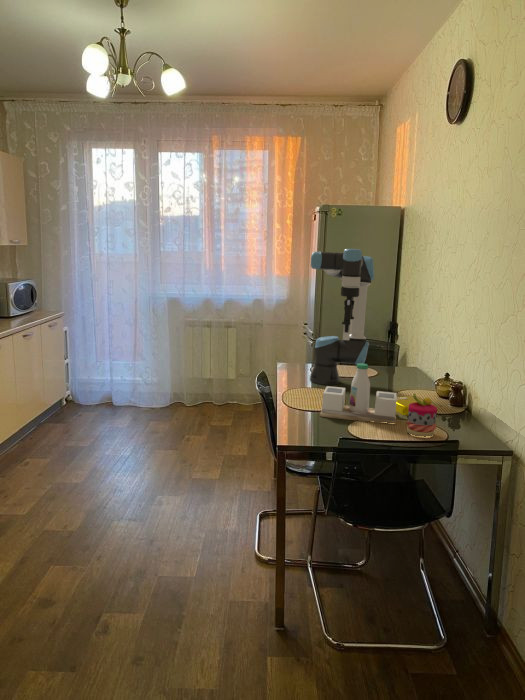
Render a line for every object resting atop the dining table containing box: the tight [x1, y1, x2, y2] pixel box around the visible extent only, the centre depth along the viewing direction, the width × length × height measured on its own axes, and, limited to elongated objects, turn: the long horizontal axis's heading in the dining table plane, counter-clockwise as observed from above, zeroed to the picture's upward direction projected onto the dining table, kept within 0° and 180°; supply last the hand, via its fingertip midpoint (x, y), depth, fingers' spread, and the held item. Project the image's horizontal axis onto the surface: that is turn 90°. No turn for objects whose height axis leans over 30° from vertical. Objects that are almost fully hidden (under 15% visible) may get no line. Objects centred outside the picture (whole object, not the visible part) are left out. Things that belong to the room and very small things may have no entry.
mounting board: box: [319, 404, 397, 424], centre depth 219 cm, size 15×30×3 cm, turn 76°
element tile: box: [396, 395, 434, 417], centre depth 230 cm, size 15×15×5 cm
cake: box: [405, 393, 438, 437], centre depth 198 cm, size 10×11×15 cm
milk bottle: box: [349, 362, 371, 413], centre depth 217 cm, size 8×8×20 cm
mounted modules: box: [321, 385, 397, 417], centre depth 218 cm, size 12×29×8 cm, turn 76°
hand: (347, 337), depth 224 cm, fingers open, 13 cm apart
